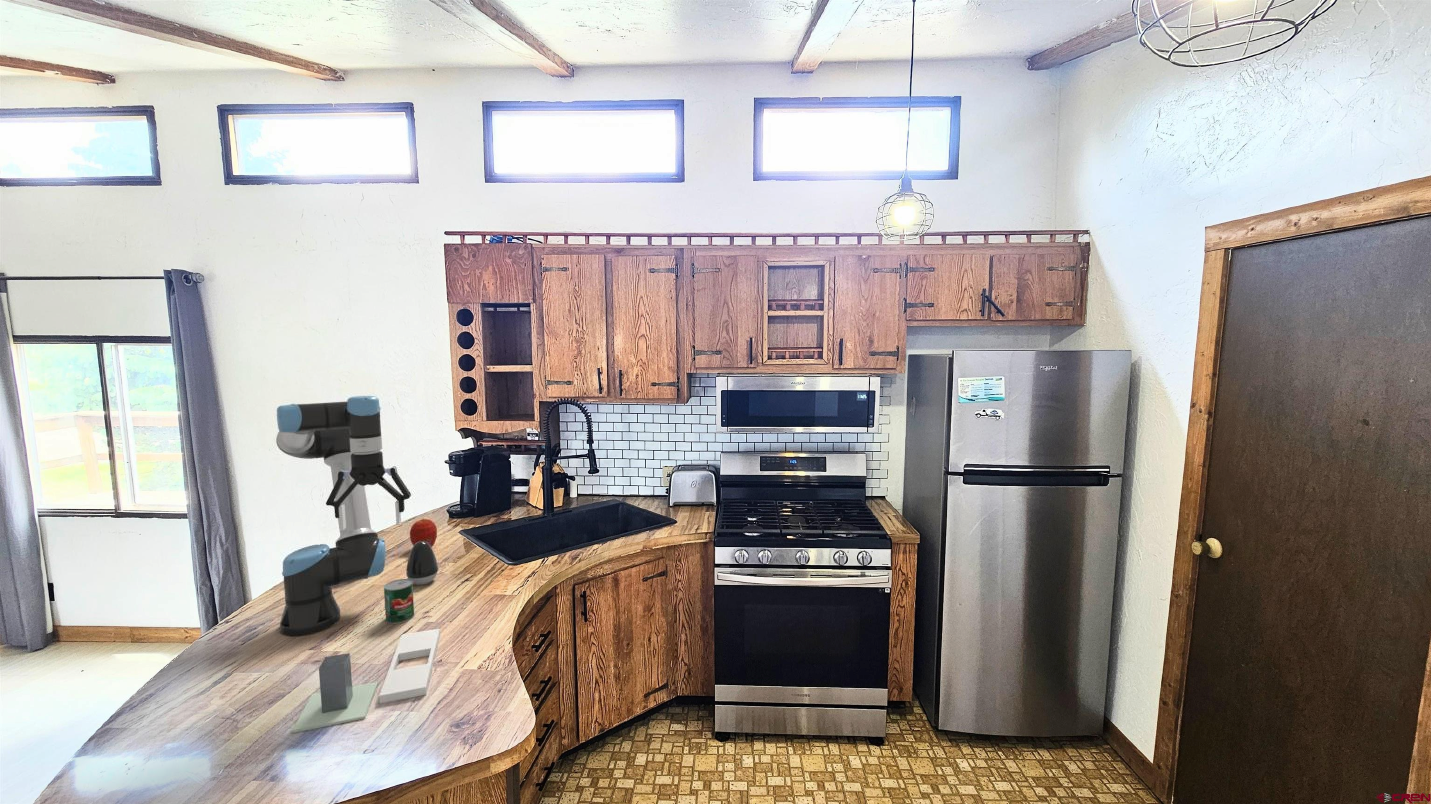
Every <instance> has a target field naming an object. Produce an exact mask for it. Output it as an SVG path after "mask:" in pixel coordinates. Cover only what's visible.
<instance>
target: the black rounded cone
mask: <svg viewBox="0 0 1431 804" xmlns="http://www.w3.org/2000/svg"><path fill="white" fill-rule="evenodd" d="M430 541H431V539H428V540H427V541H426V542H425V541H419V542H417V543H415V544H414V546H413V545H412V548H411V549H410V551H409V555H408V558H407V564H406V571H405V572H406V577H407V579H410V580H412V581H413V583H412V584H413V585H416V586H424V585H427V584H429V583H432V582H433V581H434V580H435V578H436V577H437V575H438V571H439V565H438V561H437V557H436V555H435V552H434V550H433V547H431V546H430V545H429V543H430Z"/></svg>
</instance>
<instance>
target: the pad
mask: <svg viewBox="0 0 1431 804" xmlns="http://www.w3.org/2000/svg"><path fill="white" fill-rule="evenodd" d="M378 685H379V681H375V682H374V681H373V682H370V683H363V684H362V683H361V684H358V685H352V690H353V697H352V699H351V701H350V704H349V706H348V708H347V709H342V710H337V711H332V712H327V713H322V704H321V691H320V692H315V693H311V696H310V697H309V699H308V701H307V702H306V705H305V707H304V708H303V710H302V711H301V714H300V715H299V718H298V719H297V721H296V723H295V725H294V726H293V728H292V729H291V734H293V733H300V732H306V731H310V730H314V729H319V728H325V727H330V726H334V725H340V724H345V723H350V722H354V721H360V720H365V719H366V717H367V714H368V712H369V708H370V707H371V704H372V702H373V699H374V696H375V693H376V691H377V688H378Z"/></svg>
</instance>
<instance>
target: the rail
mask: <svg viewBox="0 0 1431 804" xmlns="http://www.w3.org/2000/svg"><path fill="white" fill-rule="evenodd" d="M440 638H441V628H434V629H430V630H428V629H427V630H422V631H415V632H410V633H404V634H401V635H400V637H399V640H398V644H397V647H396V648H395V652H394V654H393V657H392V658H391V659H392V660H391V662H390V666H389V668H388V671H387V673H386V675H385V676H386V677H385V679H384V681H383V685H382V687H381V690H380V693H379V694H378V699H379V704H384V703H389V702H394V701H400V700H404V699H405V700H406V699H410V698H414V697H415V698H416V697H421V696H425V695H427V694H428V693H427V692H428V689H429V684H430V680H431V676H432V671H433V668H434V667H433V666H434V663H435V658H436V654H437V650H438V645H439V641H440ZM422 657H428V659H427V663H424V664H417V665H411V666H406V667H401V668H398V664H399V662H400V661H404V660H405V661H406V660H410V659H411V660H412V659H415V658H416V659H417V658H422Z"/></svg>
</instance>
